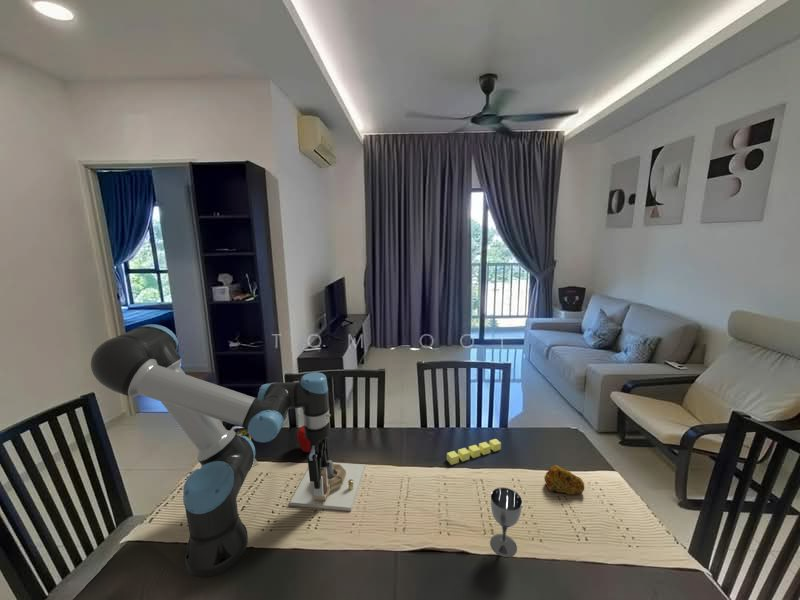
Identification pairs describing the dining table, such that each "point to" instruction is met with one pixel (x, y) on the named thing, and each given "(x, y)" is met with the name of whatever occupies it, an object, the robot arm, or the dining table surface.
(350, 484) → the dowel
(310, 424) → the robot arm
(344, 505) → the board
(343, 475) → the tan nut with handle
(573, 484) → the brown lumpy piece
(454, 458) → the yellow cube row
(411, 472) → the dining table surface
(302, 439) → the apple
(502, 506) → the wine glass
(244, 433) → the condiment
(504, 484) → the dining table surface
